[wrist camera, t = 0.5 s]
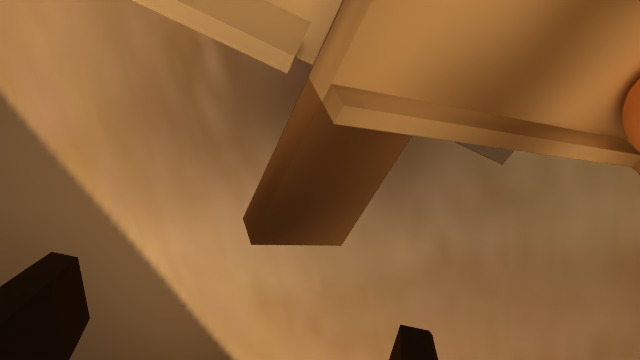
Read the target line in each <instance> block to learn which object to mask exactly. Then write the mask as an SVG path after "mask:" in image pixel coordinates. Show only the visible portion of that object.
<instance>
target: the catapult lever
mask: <svg viewBox="0 0 640 360" xmlns="http://www.w3.org/2000/svg"><path fill="white" fill-rule="evenodd" d="M639 79H640V0H344V1H343V3H342V6H341V8H340V10H339V12H338V14H337V16H336V19H335V21H334V23H333V25H332V27H331V29H330V32H329V34H328V36H327V38H326V40H325V42H324V44H323V47H322V49H321V51H320V53H319V55H318V57H317V60H316V62H315V64H314V66H313V68H312V70H311V73H310V75H309V77H308V79H307V81H306V83H305V85H304V88H303V90H302V92H301V94H300V96H299V98H298V101H297V103H296V105H295V107H294V109H293V111H292V114H291V116H290V118H289V120H288V122H287V124H286V127H285V129H284V131H283V133H282V135H281V137H280V139H279V142H278V144H277V146H276V148H275V150H274V152H273V155H272V157H271V159H270V161H269V163H268V165H267V168H266V170H265V172H264V174H263V176H262V178H261V180H260V183H259V185H258V187H257V189H256V191H255V193H254V196H253V198H252V200H251V202H250V204H249V206H248V209H247V211H246V213H245V215H244V217H243V220H244V223H245V226H246V229H247V233H248V236H249V239H250V242H251V245H336V246H341V245H342V243H343V242H344V240H345V239H346V237H347V236H348V234H349V233H350V231H351V230H352V228H353V226H354V225H355V223H356V222H357V220H358V219H359V217H360V216H361V214H362V213H363V211H364V209H365V208H366V206H367V205H368V203H369V202H370V200H371V199H372V197H373V195H374V194H375V192H376V191H377V189H378V188H379V186H380V185H381V183H382V182H383V180H384V178H385V177H386V175H387V174H388V172H389V171H390V169H391V168H392V166H393V165H394V163H395V161H396V160H397V158H398V157H399V155H400V154H401V152H402V151H403V149H404V147H405V146H406V144H407V143H408V141H409V140H410V138H411V137H412V135H414V136H421V137H428V138H435V139H441V140H448V141H455V142H462V143H469V144H476V145H483V146H490V147H497V148H503V149H510V150H517V151H524V152H531V153H538V154H545V155H552V156H559V157H565V158H572V159H579V160H586V161H593V162H600V163H607V164H614V165H621V166H627V167H632V168H633V169H634V170H635V171H636V172H637V173H638V174H639V175H640V152H638V151H637V150H636V149H635V147H634V146H633V145H632V144H631V143H630V141H629V139H628V137H627V136H626V133H625V130H624V127H623V121H622V113H623V106H624V103H625V100H626V97H627V95H628V93H629V91H630V90H631V88H632V87H633V85H634V84H635V83H636V82H637V81H638V80H639Z"/></svg>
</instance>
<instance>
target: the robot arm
mask: <svg viewBox="0 0 640 360" xmlns="http://www.w3.org/2000/svg"><path fill="white" fill-rule="evenodd" d="M89 319H90V317H89V312H88V307H87V302H86V297H85V292H84V287H83V281H82V276H81V271H80V266H79V261H78V257H73V256H69V255H64V254H59V253H54V252H51V253H49V254H48V255H46V256H45V257H43V258H42V259H40V260H39V261H37V262H36V263H34V264H33V265H31V266H30V267H28V268H27V269H25V270H24V271H23V272H21V273H20V274H18V275H17V276H15V277H14V278H12V279H11V280H9V281H8V282H6V283H5V284H4V285H2V286H1V287H0V360H69V359H70V357H71V355H72V353H73V351H74V349H75V348H76V345H77V343H78V342H79V340H80V337H81V335H82V333H83V331H84V329H85V327H86V325H87V323H88V321H89ZM389 360H438V357H437V353H436V349H435V345H434V340H433V335H432V334H431V333H430V331H428V330H423V329H418V328H414V327H409V326H404V325H400V328H399V331H398V334H397V337H396V340H395V343H394V346H393V349H392V352H391V355H390V359H389Z"/></svg>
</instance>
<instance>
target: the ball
mask: <svg viewBox="0 0 640 360" xmlns="http://www.w3.org/2000/svg"><path fill="white" fill-rule="evenodd" d="M622 121H623V127H624V130H625V133H626V136H627V137H628V139H629V141H630V143H631V144H632V145H633V146H634V147H635V149H636V150H637V151H638V152H640V79H639V80H638V81H637V82H636V83H635V84H634V85H633V87H632V88H631V90H630V91H629V93H628V95H627V97H626V100H625V103H624V106H623V113H622Z"/></svg>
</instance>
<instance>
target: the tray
mask: <svg viewBox="0 0 640 360" xmlns="http://www.w3.org/2000/svg"><path fill="white" fill-rule="evenodd" d="M132 1H134V2H136V3H138V4H141V5H143V6H145V7H147V8H149V9H151V10H153V11H155V12H158V13H160V14H162V15H164V16H166V17H168V18H170V19H172V20H175V21H177V22H179V23H181V24H183V25H185V26H187V27H189V28H191V29H194V30H196V31H198V32H200V33H202V34H204V35H206V36H208V37H211V38H213V39H215V40H217V41H219V42H221V43H223V44H225V45H228V46H230V47H232V48H234V49H236V50H238V51H240V52H242V53H244V54H247V55H249V56H251V57H253V58H255V59H257V60H259V61H261V62H264V63H266V64H268V65H270V66H272V67H274V68H276V69H278V70H281V71H283V72H285V73H287V74H288V71H289V69H290V67H291V65H292V63H293V61H294V59H295V57H296V58H298V59H301V60H303V61H305V62H307V63H309V64H311V65H313V64H314V62H315V59H316V57H317V55H318V53H319V51H320V49H321V46H322V44H323V42H324V40H325V38H326V36H327V33H328V31H329V29H330V27H331V25H332V23H333V20H334V18H335V16H336V14H337V12H338V10H339V7H340V5H341V3H342V1H343V0H132Z"/></svg>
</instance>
